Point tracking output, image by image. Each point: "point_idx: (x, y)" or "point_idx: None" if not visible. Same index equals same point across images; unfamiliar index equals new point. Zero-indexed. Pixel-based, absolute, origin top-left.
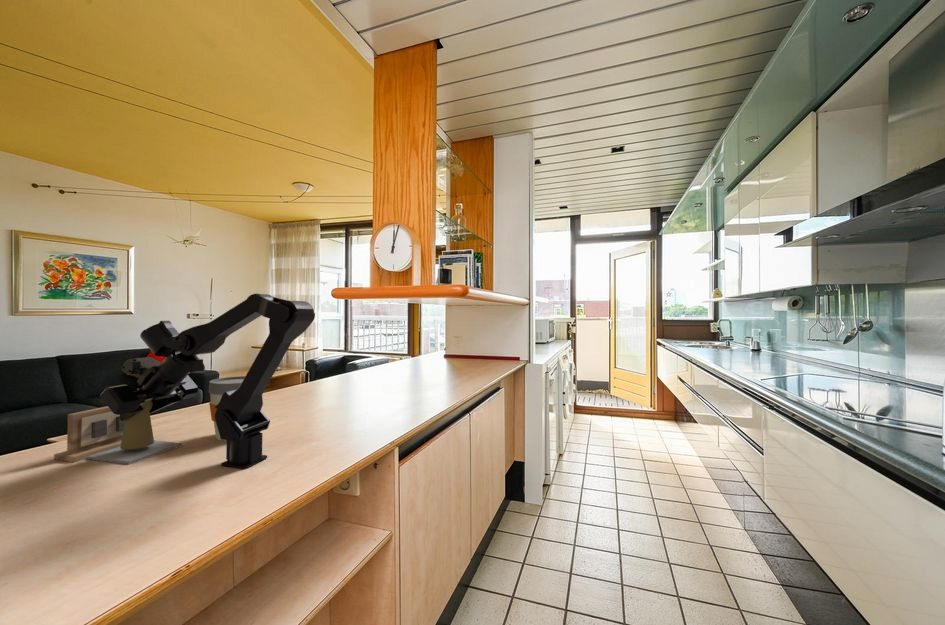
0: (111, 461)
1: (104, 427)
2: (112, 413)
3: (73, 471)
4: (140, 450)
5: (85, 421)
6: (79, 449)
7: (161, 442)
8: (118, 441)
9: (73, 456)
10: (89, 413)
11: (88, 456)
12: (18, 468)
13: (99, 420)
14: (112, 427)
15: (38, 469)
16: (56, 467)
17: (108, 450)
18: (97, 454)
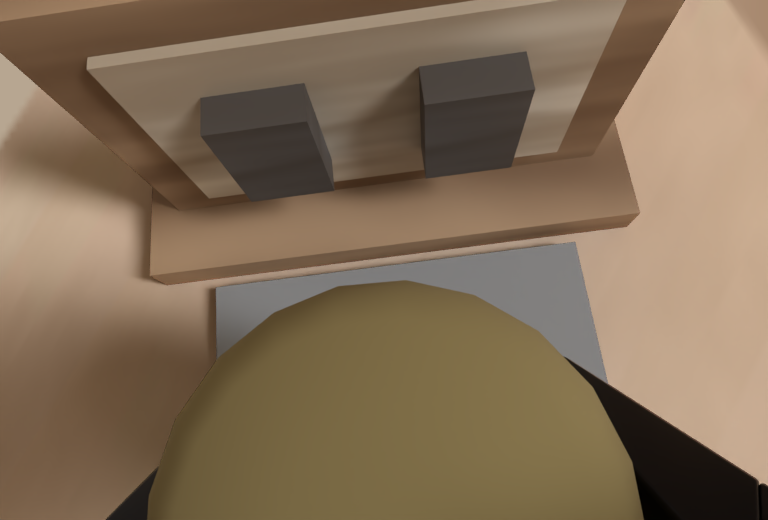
0: None
1: (301, 160)
2: (380, 39)
3: (59, 463)
4: None
5: (137, 90)
6: (208, 198)
7: None
8: (438, 187)
9: (152, 263)
10: (143, 20)
11: (216, 298)
12: (46, 128)
13: (267, 86)
14: (392, 128)
15: (51, 234)
16: (89, 286)
17: (331, 284)
18: (258, 306)
